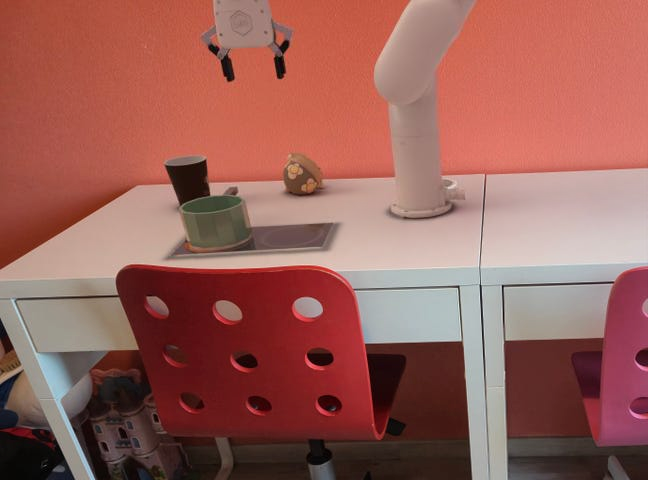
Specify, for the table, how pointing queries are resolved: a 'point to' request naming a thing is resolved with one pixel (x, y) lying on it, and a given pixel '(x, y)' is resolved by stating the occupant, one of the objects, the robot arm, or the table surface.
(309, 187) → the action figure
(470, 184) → the table surface
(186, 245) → the hob
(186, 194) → the coffee mug
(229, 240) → the saucepan
